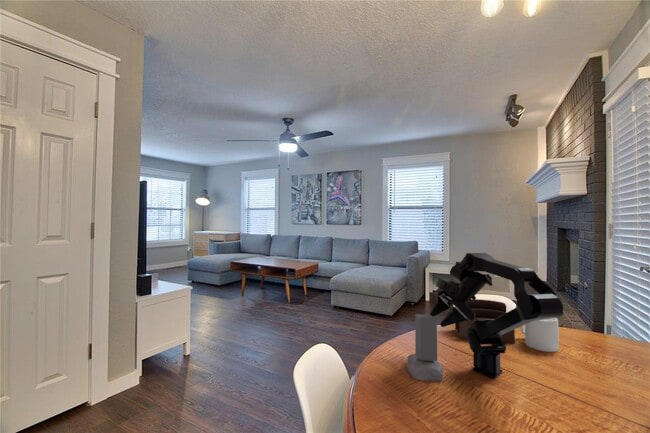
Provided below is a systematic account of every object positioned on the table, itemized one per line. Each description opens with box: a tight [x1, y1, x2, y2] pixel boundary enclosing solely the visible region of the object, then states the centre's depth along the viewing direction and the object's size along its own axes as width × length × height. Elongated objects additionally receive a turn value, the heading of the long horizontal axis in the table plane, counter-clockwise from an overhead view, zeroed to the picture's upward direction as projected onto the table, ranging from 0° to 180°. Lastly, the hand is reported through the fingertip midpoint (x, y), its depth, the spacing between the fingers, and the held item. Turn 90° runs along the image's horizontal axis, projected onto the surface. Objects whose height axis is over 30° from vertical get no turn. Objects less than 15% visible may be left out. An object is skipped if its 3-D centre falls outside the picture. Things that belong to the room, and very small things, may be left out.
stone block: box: [406, 353, 444, 382], centre depth 90 cm, size 12×5×10 cm
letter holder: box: [454, 298, 516, 344], centre depth 119 cm, size 10×20×14 cm, turn 75°
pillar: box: [414, 314, 438, 361], centre depth 91 cm, size 5×5×12 cm
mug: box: [520, 318, 560, 353], centre depth 111 cm, size 14×10×11 cm
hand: (435, 320), depth 96 cm, fingers open, 9 cm apart
